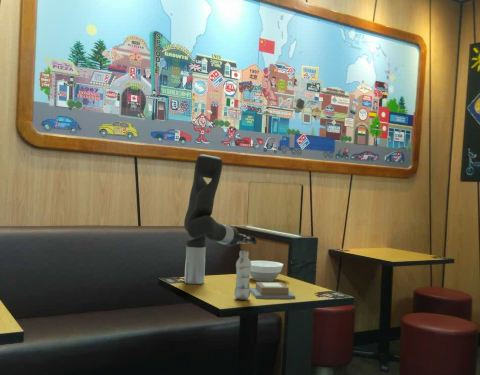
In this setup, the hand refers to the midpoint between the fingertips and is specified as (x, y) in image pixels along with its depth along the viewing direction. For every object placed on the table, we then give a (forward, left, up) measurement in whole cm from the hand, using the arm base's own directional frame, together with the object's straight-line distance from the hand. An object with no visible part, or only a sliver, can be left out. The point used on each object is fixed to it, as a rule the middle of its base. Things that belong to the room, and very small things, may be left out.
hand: (246, 242), depth 216 cm
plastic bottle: (-2, -4, -24) cm, 24 cm away
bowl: (+17, +41, -24) cm, 51 cm away
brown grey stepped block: (+13, +6, -24) cm, 28 cm away
